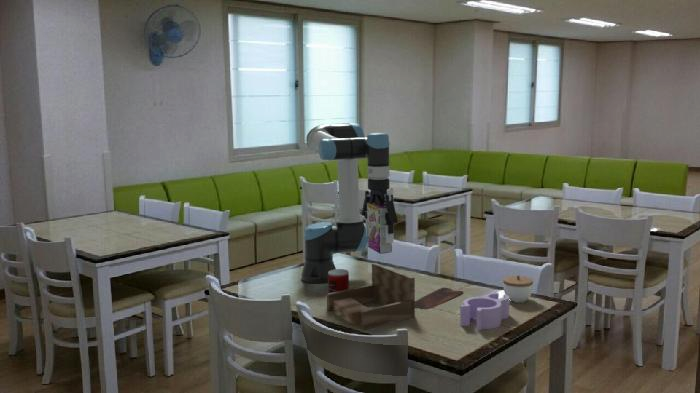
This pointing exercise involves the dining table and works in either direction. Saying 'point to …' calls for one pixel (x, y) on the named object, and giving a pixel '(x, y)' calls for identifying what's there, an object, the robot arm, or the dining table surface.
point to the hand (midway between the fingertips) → (379, 239)
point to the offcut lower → (353, 322)
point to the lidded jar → (518, 288)
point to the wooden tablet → (436, 298)
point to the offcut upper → (350, 308)
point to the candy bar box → (377, 228)
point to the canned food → (338, 280)
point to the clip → (485, 310)
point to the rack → (382, 297)
